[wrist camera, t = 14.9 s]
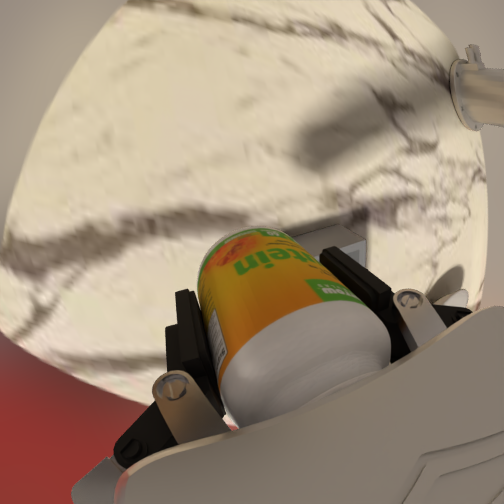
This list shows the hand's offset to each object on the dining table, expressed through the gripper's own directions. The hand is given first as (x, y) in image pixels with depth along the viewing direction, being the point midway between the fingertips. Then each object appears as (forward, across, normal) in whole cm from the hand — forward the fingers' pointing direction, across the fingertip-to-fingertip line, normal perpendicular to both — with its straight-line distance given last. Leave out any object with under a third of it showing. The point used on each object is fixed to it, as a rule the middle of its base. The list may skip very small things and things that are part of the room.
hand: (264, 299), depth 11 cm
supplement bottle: (+2, 0, 0) cm, 2 cm away
